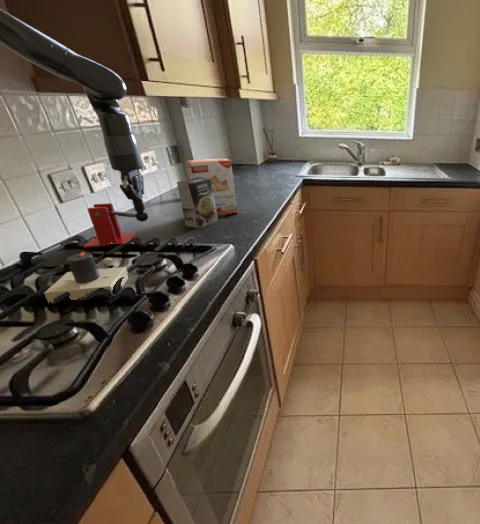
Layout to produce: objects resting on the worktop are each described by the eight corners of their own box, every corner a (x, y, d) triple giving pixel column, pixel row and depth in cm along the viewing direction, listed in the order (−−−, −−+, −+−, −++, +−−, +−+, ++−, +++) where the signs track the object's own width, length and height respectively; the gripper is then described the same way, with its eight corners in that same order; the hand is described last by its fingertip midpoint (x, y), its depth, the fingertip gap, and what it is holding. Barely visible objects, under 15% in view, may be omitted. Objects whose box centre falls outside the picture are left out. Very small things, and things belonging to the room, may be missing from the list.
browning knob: (95, 281, 74) (87, 258, 72) (71, 284, 73) (62, 260, 70) (102, 273, 78) (94, 250, 76) (80, 275, 77) (71, 252, 74)
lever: (149, 220, 104) (149, 210, 102) (146, 223, 101) (146, 213, 100) (98, 214, 99) (97, 204, 98) (94, 218, 96) (93, 207, 95)
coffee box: (200, 230, 114) (190, 183, 107) (185, 227, 116) (175, 181, 109) (219, 222, 122) (211, 178, 115) (205, 220, 124) (196, 176, 117)
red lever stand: (137, 236, 107) (126, 201, 102) (128, 247, 99) (116, 209, 94) (97, 239, 104) (84, 202, 99) (84, 250, 96) (69, 211, 91)
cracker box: (200, 219, 124) (189, 162, 115) (197, 215, 128) (186, 159, 119) (238, 214, 132) (230, 159, 123) (234, 210, 136) (226, 157, 127)
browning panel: (49, 305, 71) (43, 292, 69) (71, 283, 79) (66, 271, 78) (114, 297, 74) (110, 285, 73) (129, 277, 83) (125, 266, 81)
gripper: (116, 148, 97) (133, 206, 105) (98, 155, 86) (118, 218, 94) (145, 148, 100) (159, 204, 107) (131, 154, 88) (148, 217, 96)
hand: (140, 211), depth 100 cm, fingers closed
